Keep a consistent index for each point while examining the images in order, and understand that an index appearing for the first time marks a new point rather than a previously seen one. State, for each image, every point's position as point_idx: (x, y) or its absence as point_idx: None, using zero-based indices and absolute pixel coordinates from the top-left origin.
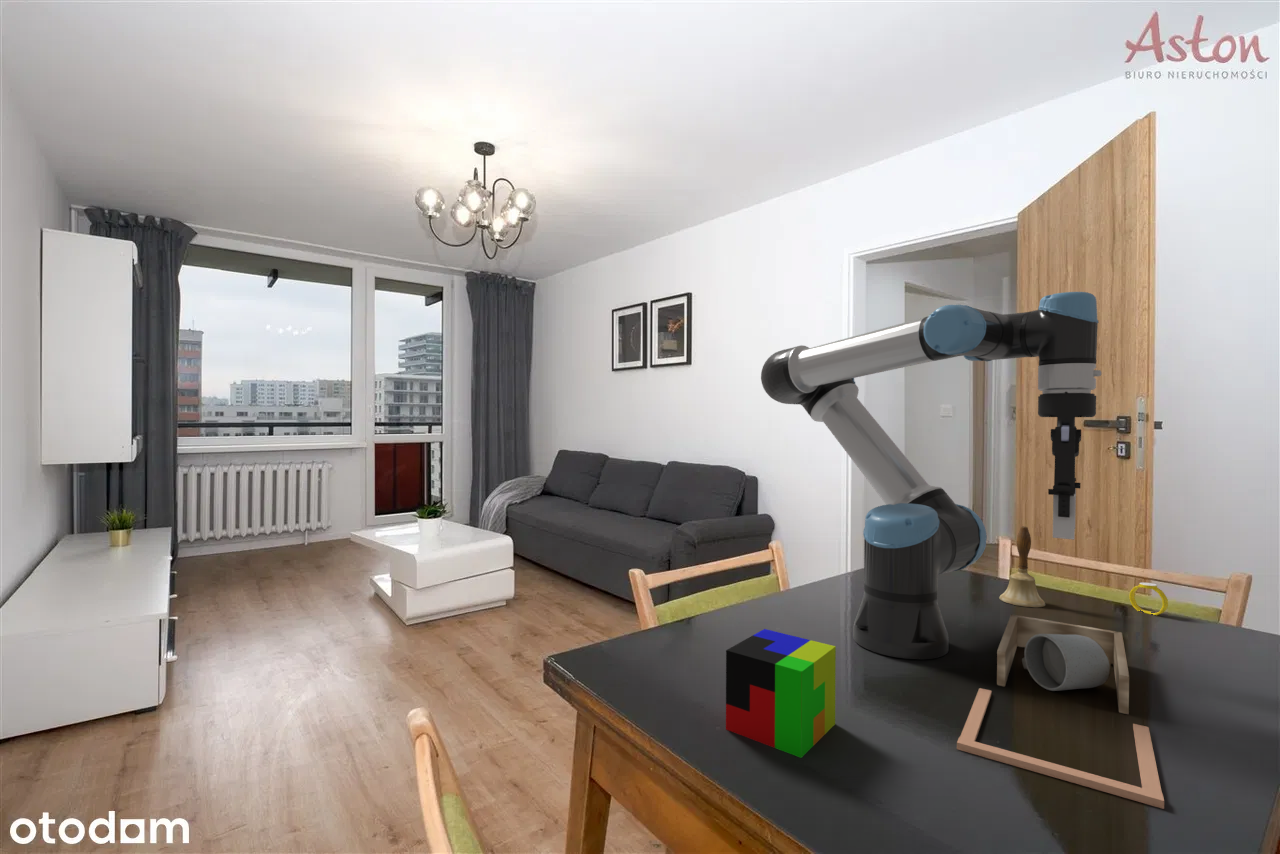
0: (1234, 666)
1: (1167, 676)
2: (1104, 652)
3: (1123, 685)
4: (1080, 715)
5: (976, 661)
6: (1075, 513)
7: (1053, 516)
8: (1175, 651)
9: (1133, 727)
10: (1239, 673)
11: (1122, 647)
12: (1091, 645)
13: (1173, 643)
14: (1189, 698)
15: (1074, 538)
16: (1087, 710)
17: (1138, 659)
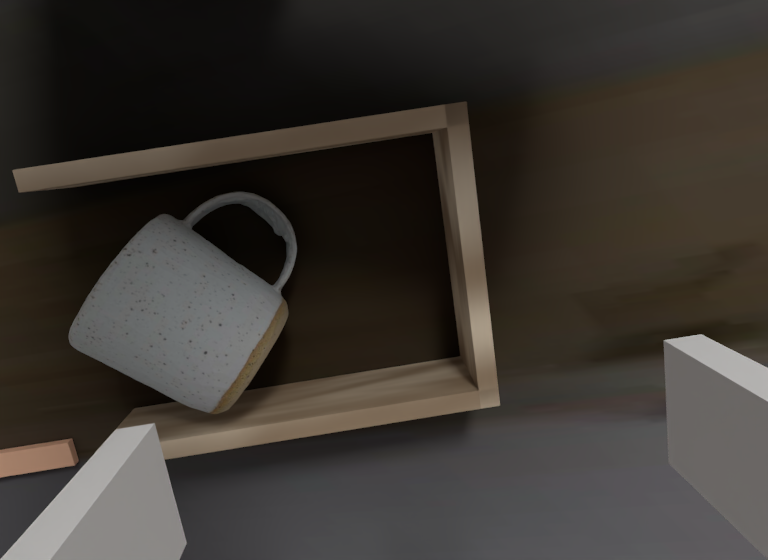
0: (643, 547)
1: (460, 454)
2: (208, 411)
3: None
4: (47, 353)
5: (204, 74)
6: (758, 548)
7: (15, 547)
8: None
9: (51, 444)
10: (595, 557)
11: (343, 426)
12: (181, 393)
13: None
14: (342, 498)
15: (184, 545)
16: (90, 359)
17: (547, 393)
